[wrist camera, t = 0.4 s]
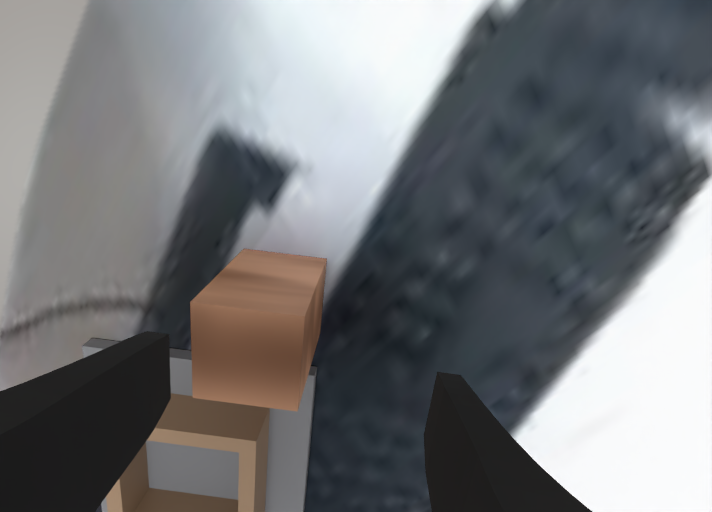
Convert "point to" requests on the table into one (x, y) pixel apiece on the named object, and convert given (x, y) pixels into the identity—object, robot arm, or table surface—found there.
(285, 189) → the table surface
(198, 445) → the dock
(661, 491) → the table surface
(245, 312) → the tan wooden block
